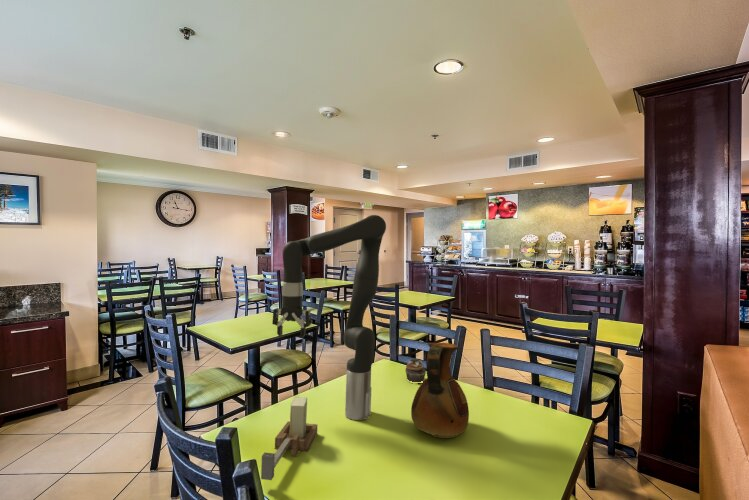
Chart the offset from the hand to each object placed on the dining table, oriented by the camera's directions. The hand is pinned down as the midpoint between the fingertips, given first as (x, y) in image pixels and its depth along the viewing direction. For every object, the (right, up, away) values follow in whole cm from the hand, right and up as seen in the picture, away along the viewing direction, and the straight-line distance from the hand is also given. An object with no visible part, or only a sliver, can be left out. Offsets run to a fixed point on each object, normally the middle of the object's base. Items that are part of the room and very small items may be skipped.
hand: (291, 336), depth 132 cm
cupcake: (+51, -30, +34) cm, 68 cm away
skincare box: (+7, -28, -20) cm, 35 cm away
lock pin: (+5, -26, -35) cm, 44 cm away
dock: (+6, -29, -21) cm, 36 cm away
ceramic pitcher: (+54, -30, -10) cm, 63 cm away
